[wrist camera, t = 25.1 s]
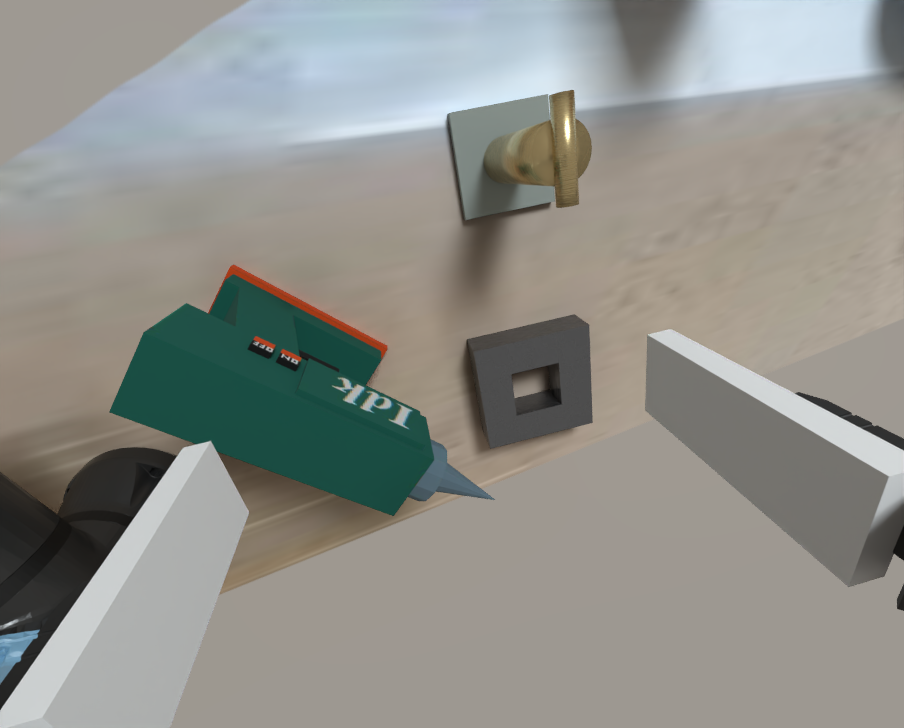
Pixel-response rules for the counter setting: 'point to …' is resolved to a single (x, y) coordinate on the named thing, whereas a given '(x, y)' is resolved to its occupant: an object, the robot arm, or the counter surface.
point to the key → (544, 152)
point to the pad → (469, 147)
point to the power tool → (285, 397)
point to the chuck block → (525, 350)
